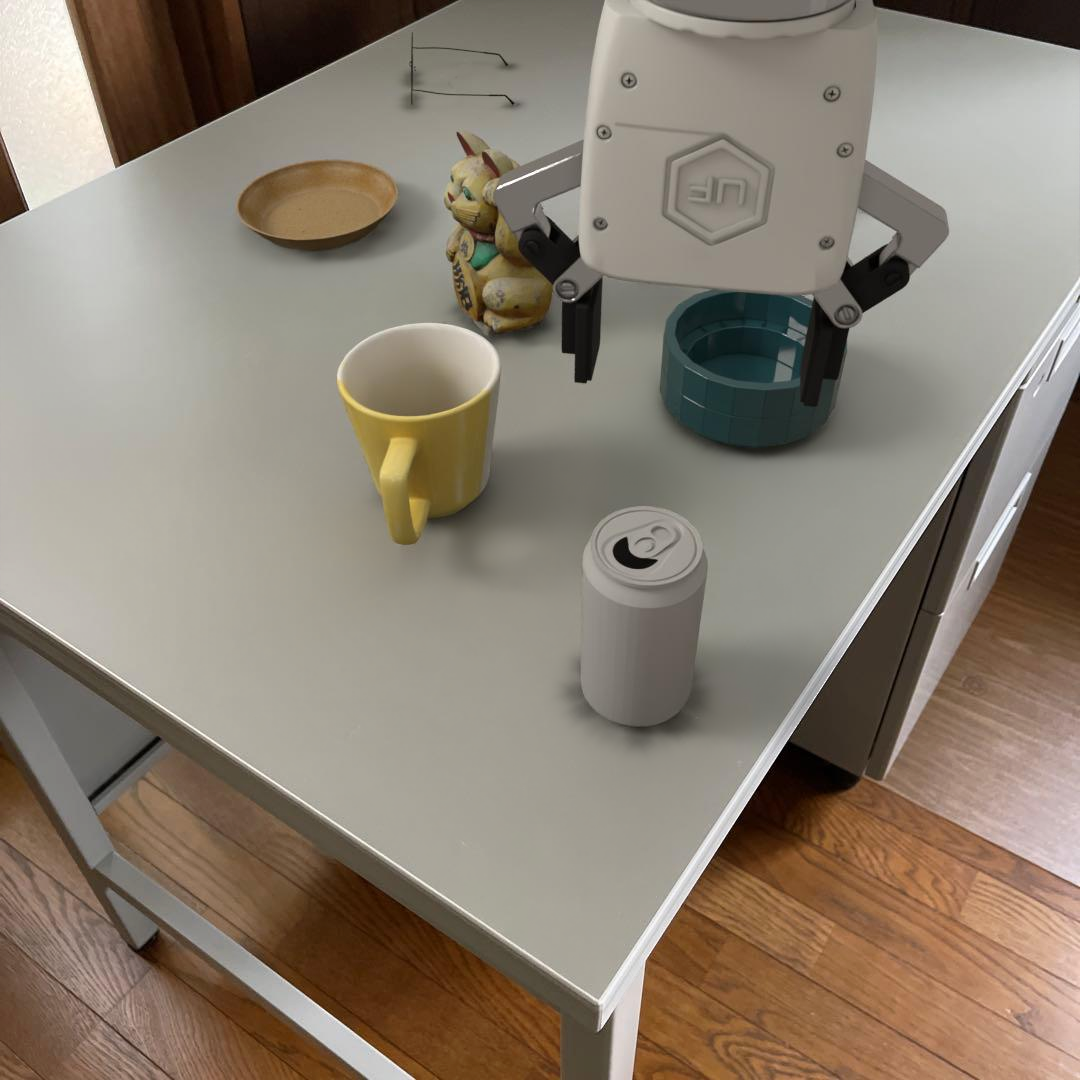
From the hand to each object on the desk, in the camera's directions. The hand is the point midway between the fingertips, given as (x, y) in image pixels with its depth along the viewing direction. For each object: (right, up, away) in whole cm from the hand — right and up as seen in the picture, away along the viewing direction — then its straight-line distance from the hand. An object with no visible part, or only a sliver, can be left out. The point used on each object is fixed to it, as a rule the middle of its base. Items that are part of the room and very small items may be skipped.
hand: (696, 375), depth 48 cm
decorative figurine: (-10, +12, +44) cm, 46 cm away
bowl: (+9, +3, +34) cm, 36 cm away
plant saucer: (-27, +22, +55) cm, 65 cm away
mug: (-15, -5, +27) cm, 31 cm away
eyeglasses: (-16, +43, +75) cm, 88 cm away
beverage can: (-1, -16, +16) cm, 23 cm away
